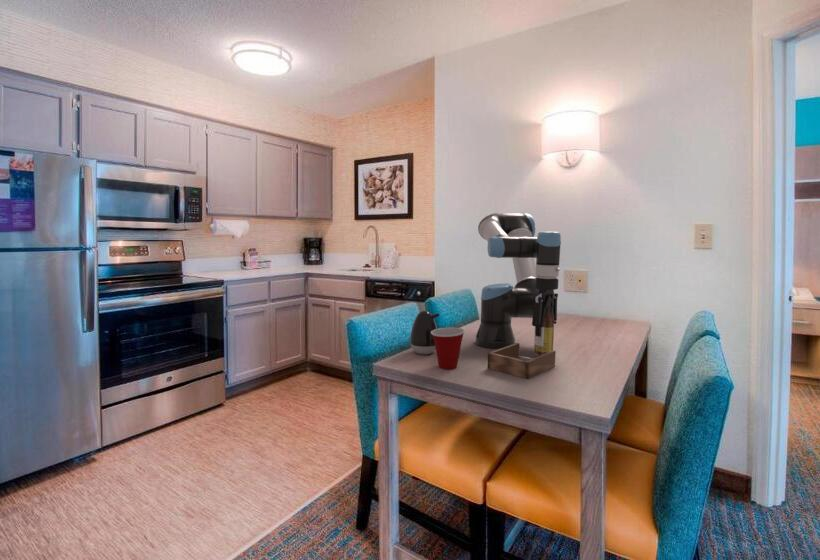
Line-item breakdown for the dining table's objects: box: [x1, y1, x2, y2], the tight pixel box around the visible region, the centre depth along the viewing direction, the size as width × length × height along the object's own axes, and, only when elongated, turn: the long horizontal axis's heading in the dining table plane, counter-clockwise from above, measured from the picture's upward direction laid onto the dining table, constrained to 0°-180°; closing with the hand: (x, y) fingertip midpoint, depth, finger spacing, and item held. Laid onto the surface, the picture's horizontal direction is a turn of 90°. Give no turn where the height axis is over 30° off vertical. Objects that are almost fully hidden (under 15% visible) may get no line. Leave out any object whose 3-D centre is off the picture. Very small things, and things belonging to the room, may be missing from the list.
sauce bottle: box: [533, 298, 555, 356], centre depth 144 cm, size 6×6×20 cm
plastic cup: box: [431, 326, 466, 370], centre depth 133 cm, size 11×11×12 cm
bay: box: [486, 342, 556, 380], centre depth 134 cm, size 14×18×5 cm
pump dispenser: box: [409, 310, 440, 355], centre depth 149 cm, size 10×10×15 cm
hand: (543, 343), depth 145 cm, fingers closed on sauce bottle, 6 cm apart
